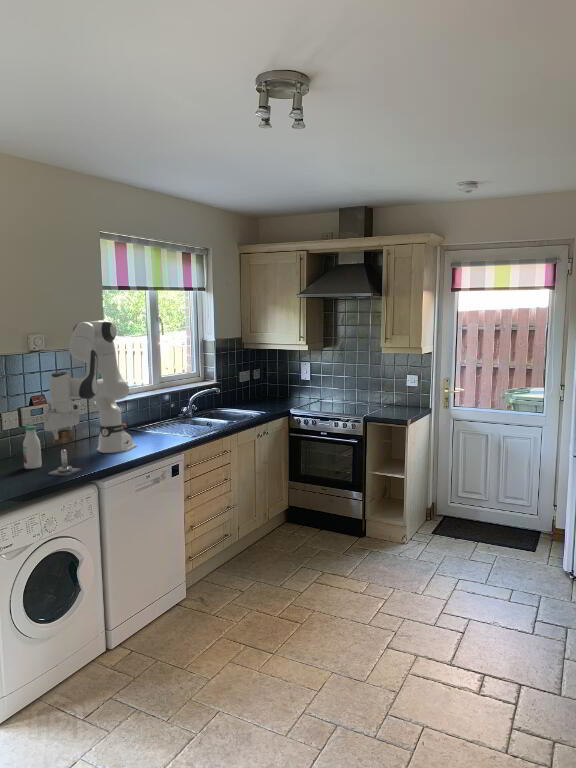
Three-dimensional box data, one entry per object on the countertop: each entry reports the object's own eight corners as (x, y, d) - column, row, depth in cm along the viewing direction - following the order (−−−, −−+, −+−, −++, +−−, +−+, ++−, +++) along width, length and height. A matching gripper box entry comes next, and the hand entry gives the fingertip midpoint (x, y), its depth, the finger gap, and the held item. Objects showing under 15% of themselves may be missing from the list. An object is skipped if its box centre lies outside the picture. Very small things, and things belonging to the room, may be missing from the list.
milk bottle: (44, 465, 280) (41, 424, 278) (38, 469, 272) (35, 427, 270) (28, 465, 279) (25, 425, 278) (21, 469, 272) (18, 428, 270)
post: (63, 469, 270) (61, 447, 269) (81, 470, 267) (79, 448, 266) (48, 474, 260) (47, 452, 259) (67, 475, 257) (65, 453, 256)
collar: (61, 440, 266) (61, 429, 265) (72, 440, 264) (72, 430, 263) (53, 442, 260) (52, 431, 260) (64, 443, 258) (63, 432, 258)
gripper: (51, 411, 250) (53, 442, 251) (81, 405, 269) (82, 434, 270) (39, 410, 252) (41, 441, 253) (69, 404, 271) (71, 433, 272)
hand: (62, 437), depth 262 cm, fingers closed on collar, 6 cm apart
